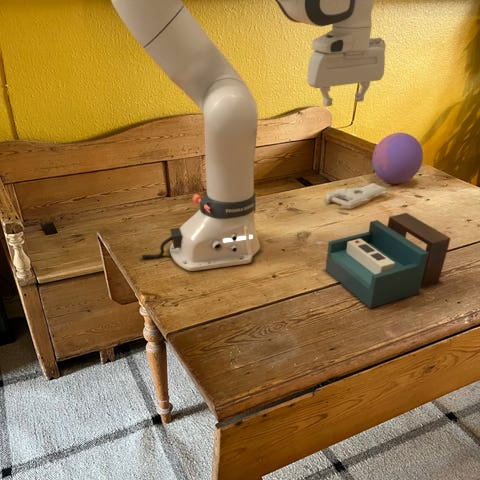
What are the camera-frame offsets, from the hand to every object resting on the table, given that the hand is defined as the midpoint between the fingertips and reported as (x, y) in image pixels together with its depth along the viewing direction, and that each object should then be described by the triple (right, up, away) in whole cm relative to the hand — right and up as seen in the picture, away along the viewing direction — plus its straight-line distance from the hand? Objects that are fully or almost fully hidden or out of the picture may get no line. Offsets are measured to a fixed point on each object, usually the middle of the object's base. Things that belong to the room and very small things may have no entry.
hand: (343, 103), depth 124 cm
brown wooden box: (+14, -42, -8) cm, 45 cm away
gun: (+8, -18, +24) cm, 32 cm away
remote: (+2, -42, -15) cm, 44 cm away
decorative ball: (+23, -10, +35) cm, 43 cm away
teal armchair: (+4, -45, -12) cm, 47 cm away
